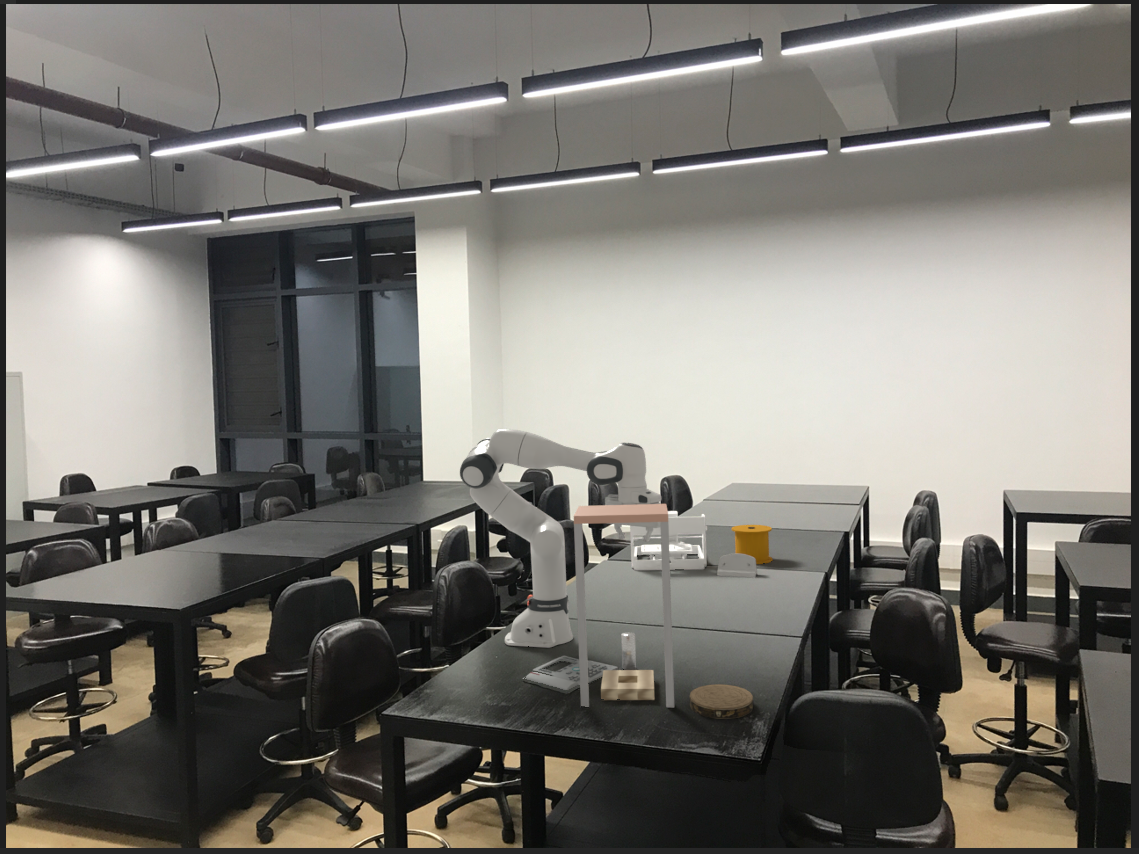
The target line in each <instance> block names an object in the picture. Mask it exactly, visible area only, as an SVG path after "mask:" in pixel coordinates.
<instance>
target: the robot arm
mask: <svg viewBox="0 0 1139 854" xmlns="http://www.w3.org/2000/svg"><path fill="white" fill-rule="evenodd" d="M490 436H491V437H486V438H483V439H482V440H480V441H479V442H478V443H476V445H474V447H473V448H471V450H470V451H469V452H468V454H467V456H466V457H465V458H464V460H462V463H461V464H460V469H459V477H460V480H462V482H463V483H464V485H466V486H467V487H469V488H470V489H469V495H470V497H471V498H472V500H473V501H474V502H475V503H476V505H477V506H479V507H480V509H482V510H483V511H484V512H485V513H486V514H487V515H489V516H490V517H491V518H493V520H494V521H495V520H496V522H498V523H499V524H501V525H502V526H503V527H505V528H506V529H507V530H508V531H510V532H512V533H514V534H516V535H517V536H519V537H521V538H522V539H524V540H526V542H528V543H530V562H531V574H532V575H531V577H532V578H531V579H532V594H529V595H528V596H527V598H526V602H527V604H526V605H527V608H526V609H524V610H523V611H522V612H521V613H520V614H519V615H517V616H516V617H515V619H514V620H513V622H512V624H511V630H510V632H508V633H507V634H506V635H505V637H504V643H505V644H506V645H507V646H512V647H513V646H514V647H528V646H529V647H531V648H533V647H534V648H548V649H550V648H552V647H555V646H557V645H562V644H565V643H566V644H567V643H568V642H570V641H572V640H573V639H574V634H573V632H572V628H571V624H570V618H569V611H570V604H569V603H570V602H569V595H568V594H567V573H566V572H567V570H566V569H567V568H566V547H565V545H566V544H565V532H564V529H563V528H564V527H563V526H562V524H561V523H560V522H559V521H557V520H556V519H554V518H553V517H552V516H550V515H548V514H547V513H545V512H544V511H542V509H540V508H538V507H536V506H535V505H533V504H531V503H530V502H529V501H528V500H526V499H525V498H523V497H522V496H521V495H520V494H518V492H516V491H514V490H513V488H511V487H509V486H508V485H507V484H505V483H504V482H503V481H502V480H501V478H500V475H499V474H500V473H502V471H503V468H504V464H510V465H514V466H516V467H520V468H524V469H525V468H526V469H531V470H532V469H533V470H535V469H536V470H543V469H549V468H554V467H555V468H556V467H564V468H565V467H566V468H570V469H571V468H572V469H574V470H579V471H584V472H586V474H587V475H586V476H587V477H588V479H589V481H591V482H592V483H593V484H595V485H597V486H600V487H601V486H602V487H603V486H605V487H606V486H608V485H612V484H617V493H616V494H613V493H609V494H607V496H605V497H604V498H605V499H604V503H605V504H604V505H638V504H662V503H660V502H661V501H662V495H661V494H659V493H657V492H655V491H653V490H651V489H649V488H647V485H648V483H647V481H646V475H647V461H646V453H645V449H644V448H643V446H641V445H640V444H636V443H632V442H619V444H618V445H616V446H615V447H614V448H612V449H610V450H604V451H598V452H591V451H587V450H582V449H578V448H574V447H569V446H567V445H563V444H561V443H558V442H556V441H553V440H550V439H548V438H546V437H543V436H541V435H540V434H539V435H538V434H535V433H532V432H529V431H524V430H518V429H511V428H509V429H508V428H499V429H497V430H495V431H494V432H493V433H492V435H490ZM606 524H608V525H609V524H610V525H613V526H614V529H615V532H616V533H617V539H619V540H624V539H625V538H626V535H625V532H623V530H622V526H629V527H630V526H639V527H646V531H647V533H646V535H642V537H643V539H642V541H643V542H647V543H649V542H650V541H651V538H650V537H651V536H652V535H651V534H652V532H653V528H659V527H660V522H636V523H606Z"/></svg>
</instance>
